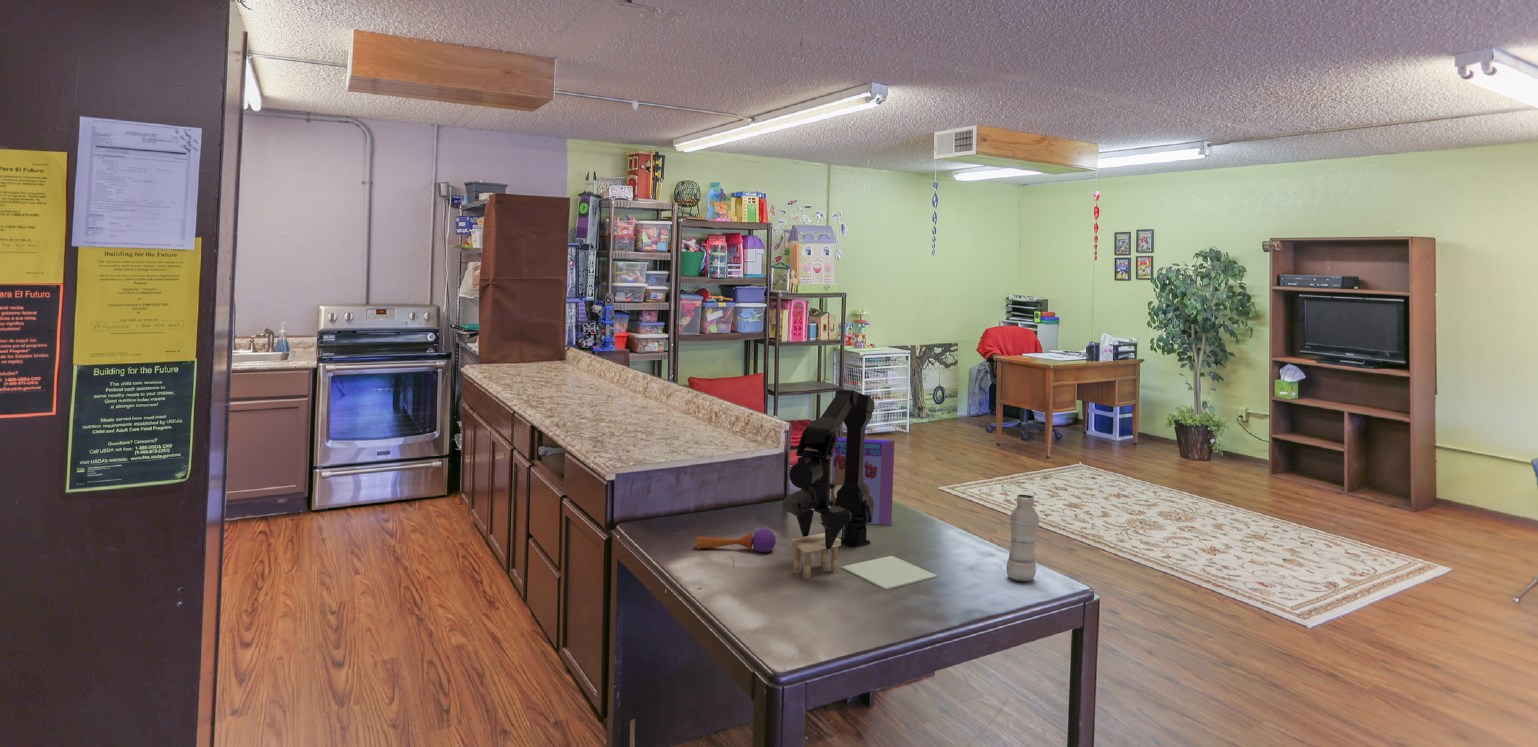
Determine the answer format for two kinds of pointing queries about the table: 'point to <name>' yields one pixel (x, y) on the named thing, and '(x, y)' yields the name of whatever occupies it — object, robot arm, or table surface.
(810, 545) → the beige wooden bench
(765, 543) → the kendama
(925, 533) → the table surface
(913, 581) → the mat
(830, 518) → the robot arm
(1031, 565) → the plastic bottle
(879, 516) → the cereal box
